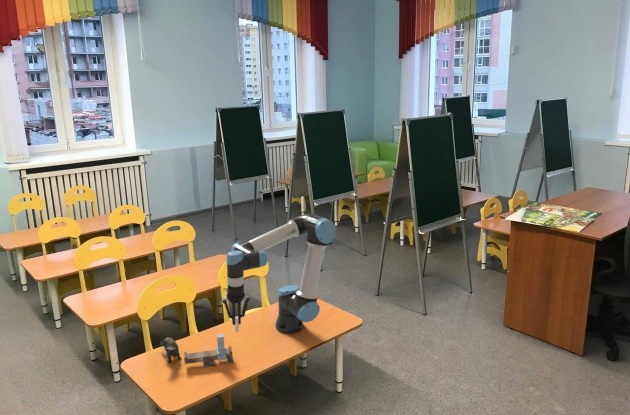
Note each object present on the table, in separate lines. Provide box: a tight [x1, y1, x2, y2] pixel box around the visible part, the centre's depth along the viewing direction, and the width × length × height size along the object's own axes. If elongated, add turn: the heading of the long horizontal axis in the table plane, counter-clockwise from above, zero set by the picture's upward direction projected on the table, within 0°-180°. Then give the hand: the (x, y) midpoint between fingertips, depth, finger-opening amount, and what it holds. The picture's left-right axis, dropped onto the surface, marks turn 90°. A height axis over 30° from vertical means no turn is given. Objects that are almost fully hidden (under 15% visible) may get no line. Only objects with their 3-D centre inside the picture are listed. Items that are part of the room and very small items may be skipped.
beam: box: [183, 345, 234, 368], centre depth 237 cm, size 22×5×6 cm, turn 105°
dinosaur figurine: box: [159, 336, 182, 364], centre depth 241 cm, size 22×8×11 cm, turn 23°
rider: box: [215, 333, 227, 362], centre depth 237 cm, size 4×8×11 cm, turn 15°
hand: (236, 330), depth 237 cm, fingers closed
